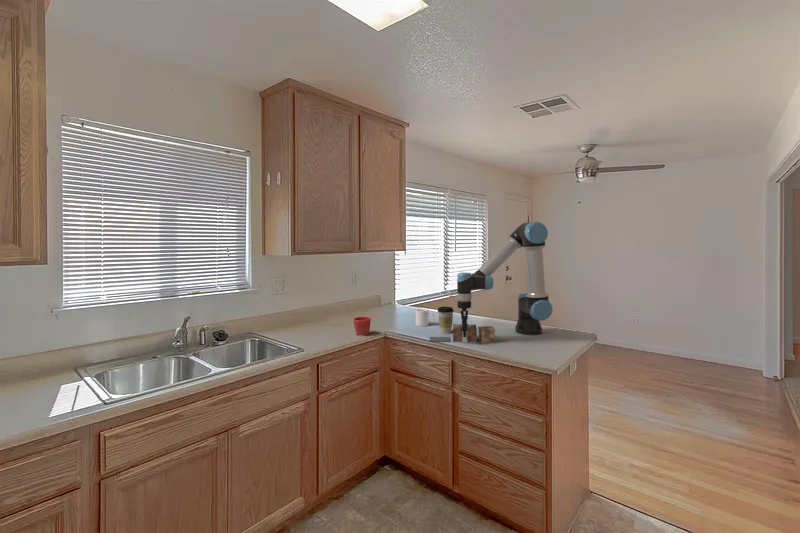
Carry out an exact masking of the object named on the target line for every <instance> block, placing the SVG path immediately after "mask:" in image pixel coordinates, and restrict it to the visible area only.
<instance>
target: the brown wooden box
mask: <svg viewBox="0 0 800 533" xmlns="http://www.w3.org/2000/svg"><path fill="white" fill-rule="evenodd" d="M477 328H478V327H477V325H476V324H468V323H467V343H477V340H478V339H477V335H478V334H477ZM461 330H462V323H461V324H453V323H452V334H453V336H452V337H453V338H452V340H453V343H454V342H455V343H462V331H461Z"/></svg>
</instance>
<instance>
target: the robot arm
mask: <svg viewBox="0 0 800 533" xmlns="http://www.w3.org/2000/svg"><path fill="white" fill-rule="evenodd" d="M548 235H549V232H548V228H547V227H546V225H545V224H544V223H542V222H539V221H530V222H523V223H521V224H520V225H519V226H518V227H517V228H515V230H514V231H513V232H512V233H511V234H510V235H509V236H508V237H507V238H508V239H507V240H506V241H505V242H504V243H503V244H502V245H501V246H500V247H499V249H497V250H496V251H495V252H494V253H493V254H492V255H491V256H490V257H489V258H488V259H487V260H486V261H485V262H484V263H483V264H482V265H481V266H480V267H479V268H478V269H477V270H476V271H475V272H474V273H471V272H459V273H457V276H456V277H457V280H456V282H457V283H456V284H457V286H456V288H457V289H456V290H457V292H456V293H457V294H456V297H457V308H458V309H461V310H460V316H461V318H460V319H461V324H462V330H461V331H462V342H461V344H463V343H464V344H467V343H468V342H467V324H468V317H469V316H468V315H469V310H467V309H471V308H472V301H471V300H472V290H473V291H474V290H476V291H477V290H484V291H485V290H486V291H487V290H492V289H493V287H494V279H493V276H491V275H493V274H494V273H495V272H496V271H497V270H498V268H500V267H501V266H502V265H503V264H504V263H505V262H506V261H507V260H508V259H509V258H511V256H512V255H513V254H514V253H515V252H516V251H517V250H518V249H522V248H523V249H524V250H525V251H526V252H525V254H526V255H525V256H526V267H527V283H528V293H519V294H518V298H517V303H518V304H517V305H518V308H517V310H518V314H517V315H518V319H517V321H516V325H515V326H514V327H515V333H518V334H521V335H528V336H529V335H531V336H534V335H541V334H542V333H543V327H542V324H541V322H542V321H546V320H547V319H549V318H550V317H551V315H552V313H553V306H552V304H551V302H550V300H549V299H550V298H549V294H548V293H547V292H546V285H545V284H546V283H545V268H544V266H545V265H544V253H543V251H544V250H543V249H544V248H545V247H546V240H547V238H548ZM540 321H541V322H540Z"/></svg>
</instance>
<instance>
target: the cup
mask: <svg viewBox="0 0 800 533" xmlns="http://www.w3.org/2000/svg"><path fill="white" fill-rule="evenodd" d="M429 315H431V320H429ZM434 320H435V319H434V313H433V312H431V311H429V309H428V308H418V309H417V308H416V309H415V326H417V327H420V328H421V327H423V328H424V327H428V326H429V324H431V323H433V322H434Z"/></svg>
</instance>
